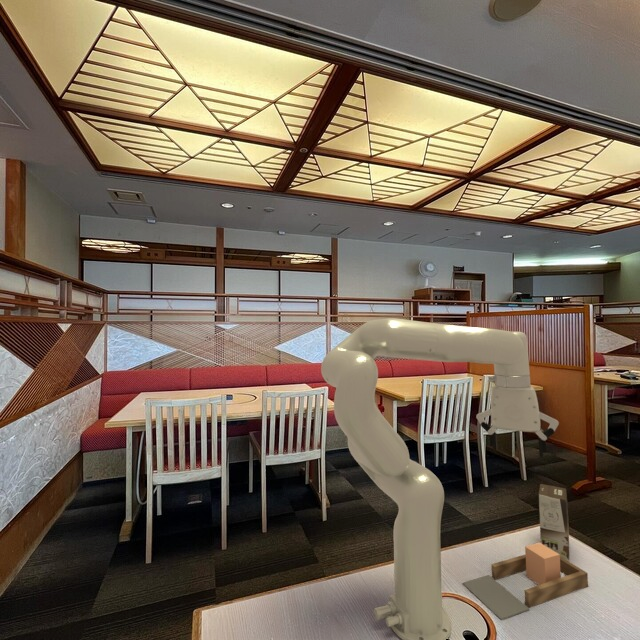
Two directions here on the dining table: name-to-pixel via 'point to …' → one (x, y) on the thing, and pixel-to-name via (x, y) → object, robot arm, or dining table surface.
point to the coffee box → (554, 519)
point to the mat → (495, 597)
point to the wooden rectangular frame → (547, 590)
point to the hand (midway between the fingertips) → (517, 452)
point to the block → (542, 563)
